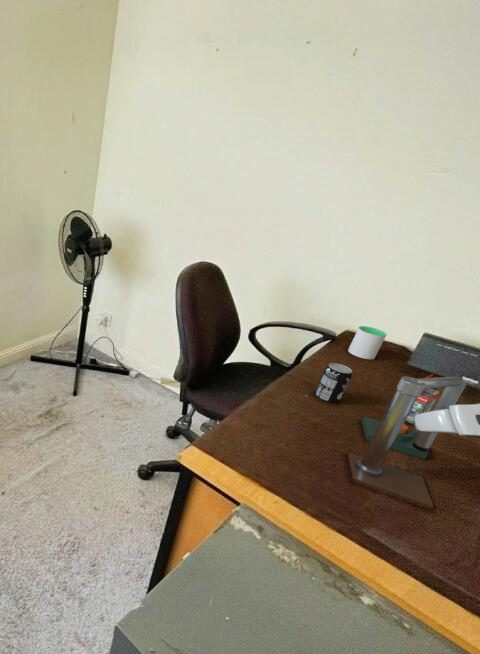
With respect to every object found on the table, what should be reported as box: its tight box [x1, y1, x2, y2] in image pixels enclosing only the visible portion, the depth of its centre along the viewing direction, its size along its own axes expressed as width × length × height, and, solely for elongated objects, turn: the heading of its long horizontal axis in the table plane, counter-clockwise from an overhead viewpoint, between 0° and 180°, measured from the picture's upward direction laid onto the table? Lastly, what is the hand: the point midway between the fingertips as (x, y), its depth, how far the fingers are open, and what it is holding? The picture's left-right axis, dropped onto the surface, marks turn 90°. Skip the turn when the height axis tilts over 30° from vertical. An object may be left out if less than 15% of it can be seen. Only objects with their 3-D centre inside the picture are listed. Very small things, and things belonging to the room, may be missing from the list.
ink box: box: [405, 373, 441, 426], centre depth 123 cm, size 4×8×15 cm, turn 116°
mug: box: [347, 325, 387, 360], centre depth 161 cm, size 12×8×10 cm
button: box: [399, 423, 409, 434], centre depth 115 cm, size 4×4×2 cm
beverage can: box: [314, 362, 353, 404], centre depth 133 cm, size 7×7×12 cm
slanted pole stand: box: [347, 388, 434, 509], centre depth 98 cm, size 14×11×26 cm
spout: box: [396, 376, 468, 453], centre depth 98 cm, size 16×4×21 cm, turn 95°
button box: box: [361, 416, 429, 460], centre depth 116 cm, size 12×10×4 cm
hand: (439, 428), depth 99 cm, fingers open, 8 cm apart
